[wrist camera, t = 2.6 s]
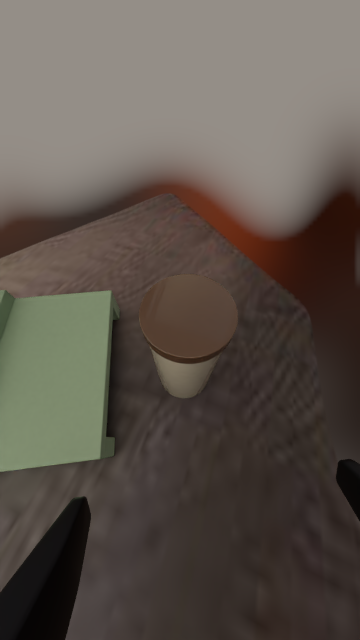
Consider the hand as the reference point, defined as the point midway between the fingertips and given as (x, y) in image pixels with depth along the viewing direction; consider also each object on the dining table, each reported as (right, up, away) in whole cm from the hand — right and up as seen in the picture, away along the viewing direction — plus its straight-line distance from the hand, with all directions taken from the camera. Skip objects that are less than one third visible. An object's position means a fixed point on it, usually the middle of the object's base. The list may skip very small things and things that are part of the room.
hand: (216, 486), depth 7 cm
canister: (-1, 0, +16) cm, 16 cm away
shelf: (-14, 0, +16) cm, 21 cm away
